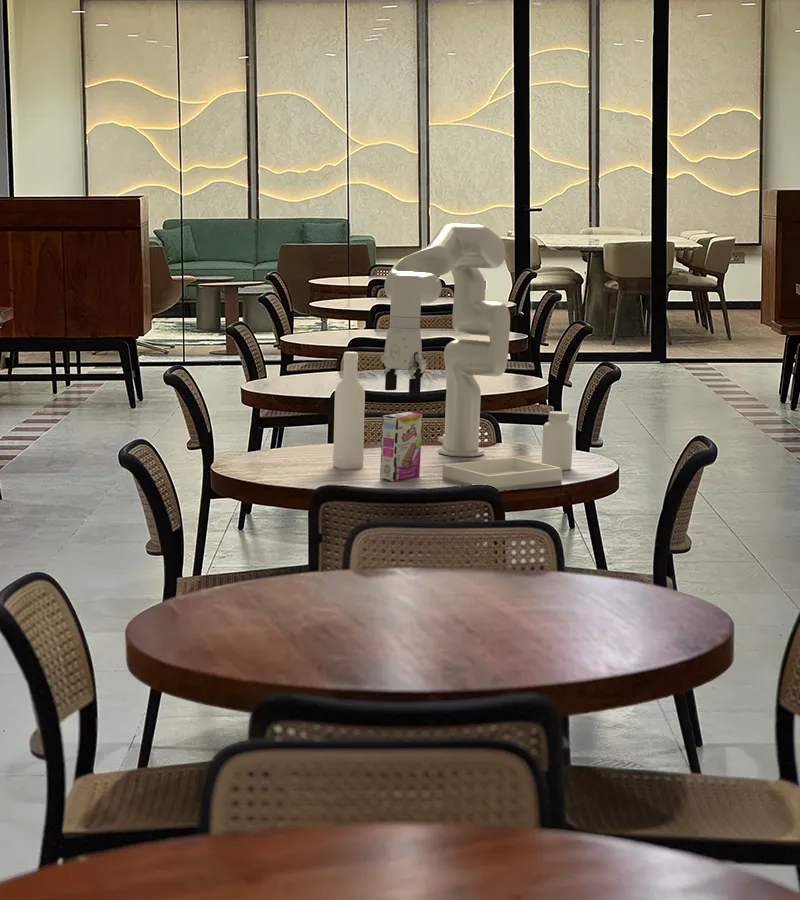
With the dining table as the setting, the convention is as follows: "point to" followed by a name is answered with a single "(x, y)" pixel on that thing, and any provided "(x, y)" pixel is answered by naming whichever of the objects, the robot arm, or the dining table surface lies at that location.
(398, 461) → the candy bar box
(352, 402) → the bottle
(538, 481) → the tray
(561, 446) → the pill bottle
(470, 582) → the dining table surface
